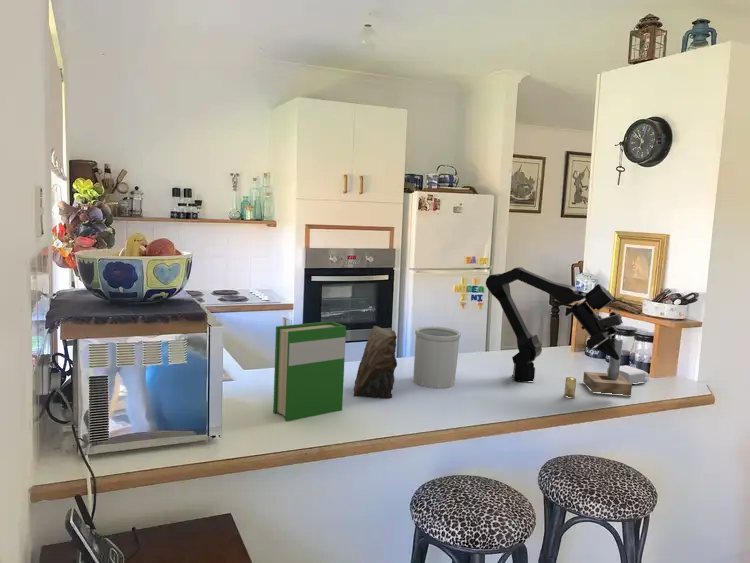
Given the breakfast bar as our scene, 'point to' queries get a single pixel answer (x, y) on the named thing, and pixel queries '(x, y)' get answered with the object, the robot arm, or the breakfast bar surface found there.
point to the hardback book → (309, 369)
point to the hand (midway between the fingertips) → (619, 358)
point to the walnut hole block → (607, 383)
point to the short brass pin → (570, 387)
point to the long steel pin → (613, 363)
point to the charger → (632, 374)
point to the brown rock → (377, 365)
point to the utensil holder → (436, 356)
